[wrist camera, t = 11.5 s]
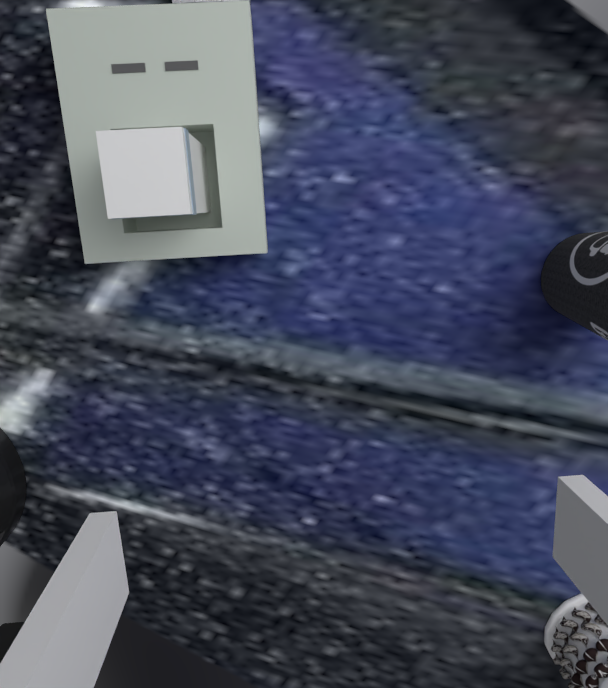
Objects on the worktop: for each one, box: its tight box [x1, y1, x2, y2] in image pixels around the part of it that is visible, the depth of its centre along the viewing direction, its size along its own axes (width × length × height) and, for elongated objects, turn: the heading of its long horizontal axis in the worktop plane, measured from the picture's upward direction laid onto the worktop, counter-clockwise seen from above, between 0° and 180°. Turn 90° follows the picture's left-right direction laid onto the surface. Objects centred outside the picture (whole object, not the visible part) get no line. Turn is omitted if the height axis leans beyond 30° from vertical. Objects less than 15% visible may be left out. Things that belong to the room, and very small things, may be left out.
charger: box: [96, 127, 211, 219], centre depth 34 cm, size 4×4×10 cm
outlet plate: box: [46, 1, 268, 264], centre depth 36 cm, size 15×12×4 cm
